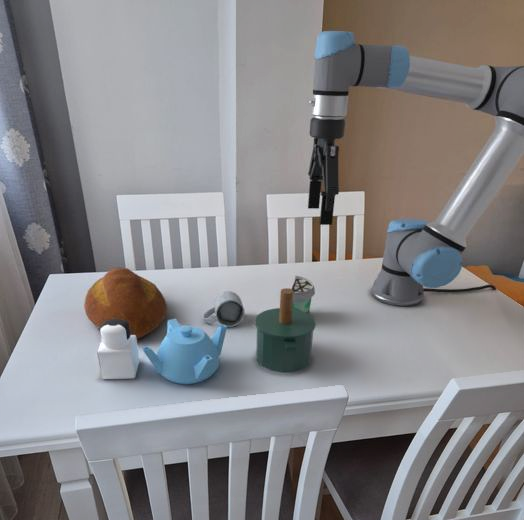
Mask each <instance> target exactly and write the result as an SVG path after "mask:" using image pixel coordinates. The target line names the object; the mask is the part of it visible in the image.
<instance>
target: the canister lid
mask: <svg viewBox="0 0 524 520" xmlns="http://www.w3.org/2000/svg"><path fill="white" fill-rule="evenodd" d="M293 292H294V291H293V290H292V288H282V289H280V295H279V307H277V308H270V309H267V310H264V311H262V312H260V313H259V314H257V315H256V317H255V319H254V325H255V328H256V330H257V329H258V330H259V331H260V332H262V333H264V334H266V335H268V336H271V337H275V338H281V339H294V338H300V337H304V336H306V335H309V334H310V333H312V332H313V333H314V331H315V329H316V320H315V318H313V316H312V315H310V313H309V314H307V313H305V312H303V311H300V310H296V309H292V307H293Z"/></svg>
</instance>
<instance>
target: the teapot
mask: <svg viewBox="0 0 524 520" xmlns="http://www.w3.org/2000/svg"><path fill="white" fill-rule="evenodd" d="M166 325H167V328H166V335H165V337H164V338H163V339H162V341H161V343H160V345H159V347H158V349H157V353H156V352H154V351H153V349H152V348H151V346H150V345H146V346H143V347H141V349H142V351H143V353H144V354H145V356H146V357H147V358H148V360H149V361H150V363H151V364H152V366H153V367H154V368H155V370H156V371H157V373H158V374H160V375H161V376H162V377H164V378H165V379H167V380H168V381H169V382H172V383H174V384H178V385H194V384H197V383H202V382H204V381H205V380H207V379H209V378H210V377H212V375H213V374H214V373H215V372H216V371H217V370H218V368H219V366H220V356H221V354H222V350H223V346H224V341H225V338H226V333H227V329H228V327H227V326H225V325H221V324H220V325H217V326H218V327H217V329H216V330H215V332H214V334H213V335H212V337H210V336H209V335H208V334H207V333H206V332H205V331H204V329H202V328H200V327H198V326H191V325H182V326H181V324H180V323H179V321H178V320H177V318H172V319H168V320H167V324H166Z"/></svg>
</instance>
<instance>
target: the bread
mask: <svg viewBox="0 0 524 520" xmlns="http://www.w3.org/2000/svg"><path fill="white" fill-rule="evenodd" d="M83 308H84V311H85V315H86V317H87V318H88V320H89V321H90V322H91V323H92V324H93V325H94V326H96V327H97V328H99V329H100V325H101V324H102V323H103V322H105V321H107V320H110V319H123V320H125V321H127V322H128V323H129V327H130V334H131V335H136V339H137V340H138V339H140V338H143V337H144V336H146V335H148V334H151V333H152V332H153V331H154V330H155V329H157V328H158V327H159V326H160V325H161V324H162V323H163V320H164V319H165V318H166V315H167V310H168V307H167V303H166V300H165V297H164V296H163V294H162V292H161V291H160V289H159V288H158V287H157V285H156V284H155V283H153V282H152V281H150V280H148V279H146V278H144V277H142V276H140V275H139V274H137V273H135V272H134V271H132V270H131V269H129V268H126V267H120V266H117V267H114V268H113V267H112V268H111V269H110V270H108V271H107V272H106V273H105V274H104V276H103V277H101V278H99V279H98V280H96V282H94V283H93V284H92V285H91V287H89V289H87V292H86V295H85V298H84V304H83Z"/></svg>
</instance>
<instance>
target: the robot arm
mask: <svg viewBox="0 0 524 520" xmlns="http://www.w3.org/2000/svg"><path fill="white" fill-rule="evenodd" d="M316 38H317V39H316V44H315V45H316V46H315V54H314V58H313V60H314V65H313V66H314V67H313V69H314V70H313V86H312V99H309V101H308V102H309V105H311V110H310V111H311V112H310V113H311V115H312V116H313V117H311V119H310V121H309V122H310V123H309V136H310V137H311V138H313V145H312V146H313V147H312V152H311V157H310V162H309V168H308V172H307V175H308V176H309V187H308V189H309V190H308V200H307V209H310V210H311V209H315V210H316V209H317V210H318V209H320V216H319V225H320V226H324V225H325V226H332V225H333V219H334V211H335V198H336V195H337V196H338V195H339V194H340V191H339V190H340V188H339V187H340V186H339V153H340V146H339V145H335V141H336V140H339V139H343V138H344V136H345V129H346V119H345V117H346V116H347V114H348V113H347V112H348V104H349V92H350V91H349V90H350V87H365V88H366V87H367V88H377V89H383V90H389V91H394V92H399V93H405V94H411V95H416V96H422V97H427V98H432V99H439V100H444V101H450V102H456V103H461V104H465V107H466V108H467V109H470V110H473V111H477V112H482V113H485V114H488V115H491V116H493V117H494V125H495V128H494V131H493V132H492V134H491V135H490V136H489V138H488V140H487V141H486V143H485V144H484V146H483V147H482V149H481V150H480V152H479V153H478V155H477V156H476V158H475V159H474V161H473V162H472V164H471V165H470V167H469V168H468V170H467V172H466V173H465V175H464V176H463V178H462V179H461V181H460V182H459V184H458V185H457V187H456V188H455V190H454V191H453V193H452V194H451V196H450V198H449V199H448V201H447V203H445V205H444V207H443V209H442V210H441V211H440V213H439V214H438V216H437V218H436V219H435V220H433V221H429V220H425V219H419V218H397V219H393V220H391V221H390V222H389V224H388V228H387V231H386V238H385V244H384V251H383V257H382V263H381V268H380V271H379V273H378V274H377V276H376V277H375V279H374V281H373V283H372V287H371V292H370V293H371V296H372V297H373V298H374V299H375V300H377V301H378V302H381V303H383V304H386V305H389V306H390V305H391V306H394V307H395V306H396V307H412V306H417V305H419V304H421V303H422V302H423V300H424V295H425V293H424V292H430V293H466V292H474V291H480V290H481V291H482V290H484V289H489V288H490V289H492V291H493V290H494V291H496V290H497V288H496V286H495V285H493V284H484V285H481V286H473V287H467V288H456V289H455V288H450V289H449V288H446V289H445V288H440V287H444V286H446V285H449V284H450V283H451V282H453V281H454V280H455V279H456V278H457V277H458V276H459V274H460V272H461V270H462V268H463V257H462V254H463V252H464V251H465V250H466V248H467V241H466V238H467V236H468V235H469V233H470V232H471V230H472V229H473V227H474V226H475V224H476V223H477V221H478V220H479V219H480V217H481V216H482V215H483V213H484V212H485V210H486V209H487V207H488V206H489V204H490V203H491V201H492V200H493V198H494V197H495V195H496V194H497V193H498V191H499V190H500V188H501V187H502V185H503V184H504V183H505V181H506V179H507V178H508V176H510V174H511V173H512V171H513V169H514V168H515V167H516V165H517V164H518V162H519V161H520V160H521V158H522V156H523V155H524V65H514V66H512V65H511V66H510V65H509V66H493V65H487V64H482V65H480V66H478V67H472V66H466V65H461V64H456V63H450V62H445V61H439V60H436V59H435V60H434V59H429V58H424V57H419V56H414V55H410V51H409V50H408V48H407V47H405V46H403V45H395V44H359V43H356V41H355V34H354V32H352V31H344V30H324V31H321V32H320V33H319V34H318V35H317V37H316ZM322 186H323V191H322ZM320 203H321V206H320ZM424 287H425V288H424Z"/></svg>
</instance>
